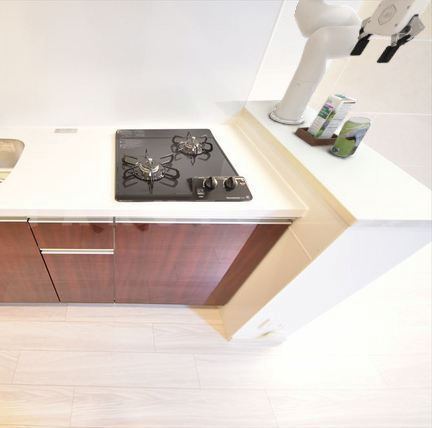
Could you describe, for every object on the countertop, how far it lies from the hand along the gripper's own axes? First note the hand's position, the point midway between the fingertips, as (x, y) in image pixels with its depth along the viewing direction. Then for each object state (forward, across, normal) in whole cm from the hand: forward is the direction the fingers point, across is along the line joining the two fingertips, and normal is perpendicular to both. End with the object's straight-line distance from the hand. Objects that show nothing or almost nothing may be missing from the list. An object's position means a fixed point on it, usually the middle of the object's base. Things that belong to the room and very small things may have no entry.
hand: (367, 59), depth 69 cm
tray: (+26, 0, 0) cm, 26 cm away
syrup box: (+25, 0, 0) cm, 25 cm away
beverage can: (+26, +11, 0) cm, 28 cm away
